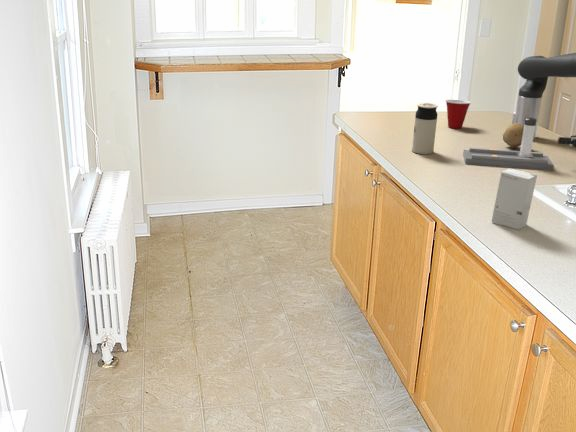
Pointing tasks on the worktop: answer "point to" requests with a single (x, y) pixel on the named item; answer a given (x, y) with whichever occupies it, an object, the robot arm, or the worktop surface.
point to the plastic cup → (456, 113)
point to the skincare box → (514, 198)
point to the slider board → (506, 159)
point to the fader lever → (527, 138)
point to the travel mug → (425, 128)
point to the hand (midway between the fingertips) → (558, 140)
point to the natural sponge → (513, 135)
